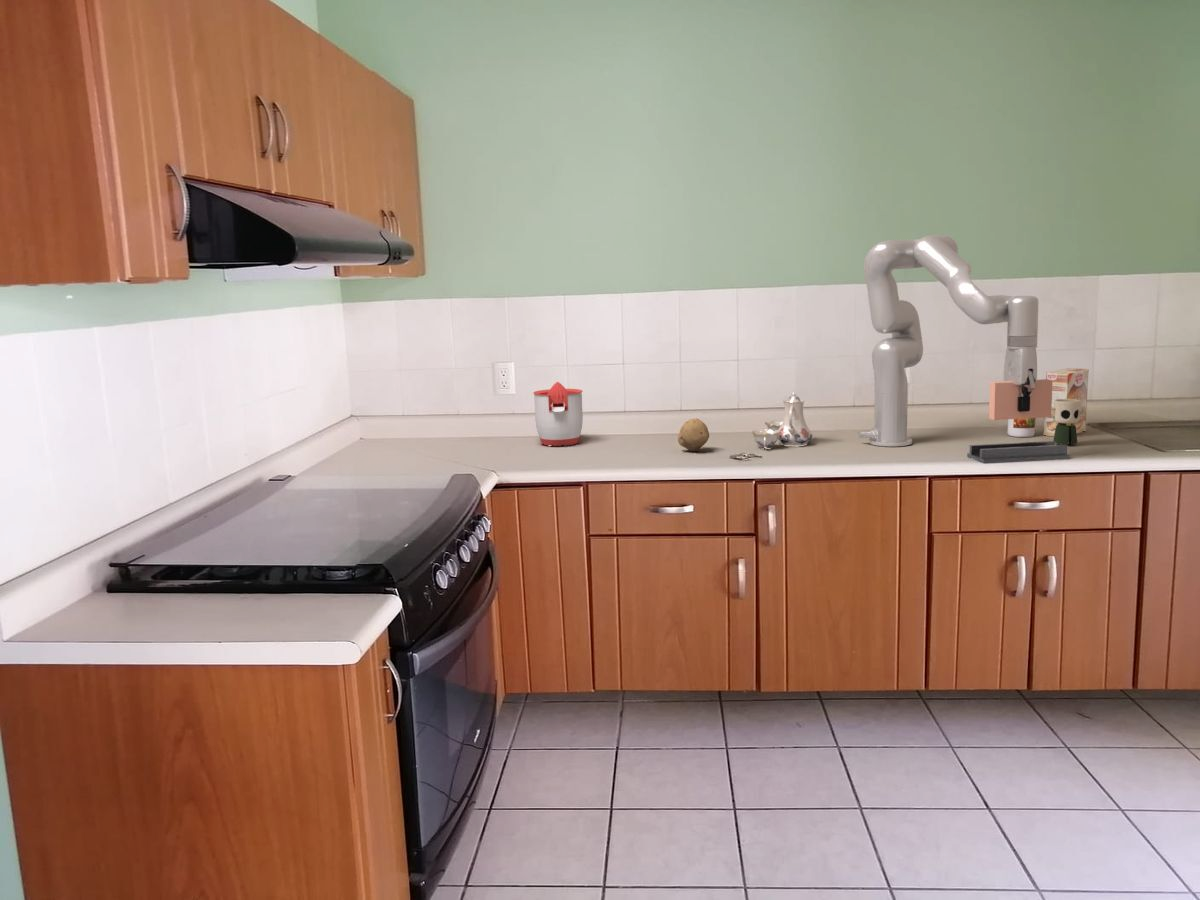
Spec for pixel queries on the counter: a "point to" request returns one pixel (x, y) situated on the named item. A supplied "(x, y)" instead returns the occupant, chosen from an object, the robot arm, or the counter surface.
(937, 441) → the counter surface
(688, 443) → the brown round lump
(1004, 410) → the door panel
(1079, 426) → the coffeecake box
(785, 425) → the chinaware
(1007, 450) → the door track
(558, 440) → the citrus juicer
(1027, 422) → the milk bottle
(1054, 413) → the character mug
